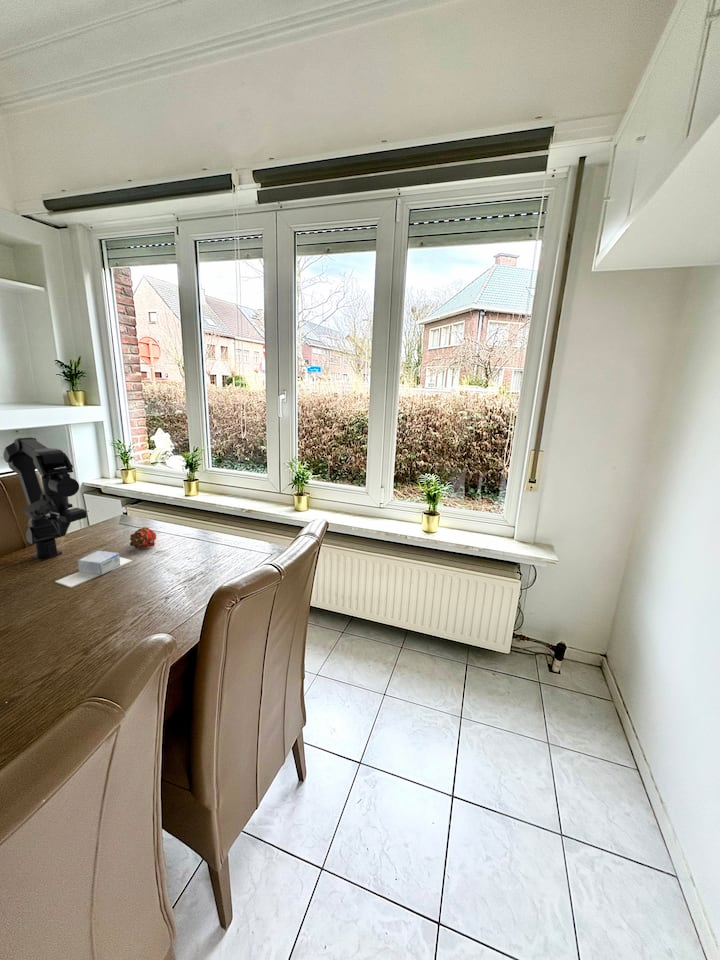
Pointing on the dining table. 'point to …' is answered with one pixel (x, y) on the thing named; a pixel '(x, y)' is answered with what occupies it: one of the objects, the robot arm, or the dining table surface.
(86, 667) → the dining table surface
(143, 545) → the dragon fruit
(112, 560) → the medicine box
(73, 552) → the dining table surface
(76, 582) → the mat
